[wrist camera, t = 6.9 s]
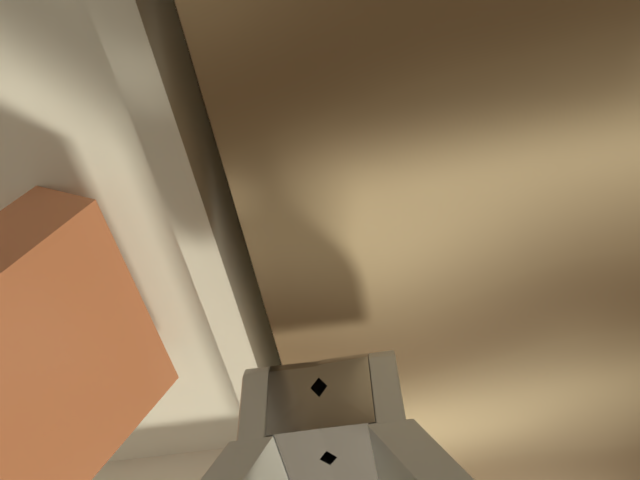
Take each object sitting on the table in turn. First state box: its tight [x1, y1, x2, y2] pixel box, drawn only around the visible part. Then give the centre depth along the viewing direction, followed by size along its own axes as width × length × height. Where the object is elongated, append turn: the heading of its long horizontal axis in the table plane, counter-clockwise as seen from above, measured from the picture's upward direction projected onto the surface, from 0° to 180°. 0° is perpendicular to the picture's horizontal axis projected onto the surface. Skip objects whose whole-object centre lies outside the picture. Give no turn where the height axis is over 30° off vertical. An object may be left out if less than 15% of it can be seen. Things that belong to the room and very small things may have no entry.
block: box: [174, 0, 640, 480], centre depth 14 cm, size 16×14×4 cm
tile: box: [0, 186, 179, 480], centre depth 14 cm, size 6×6×2 cm
